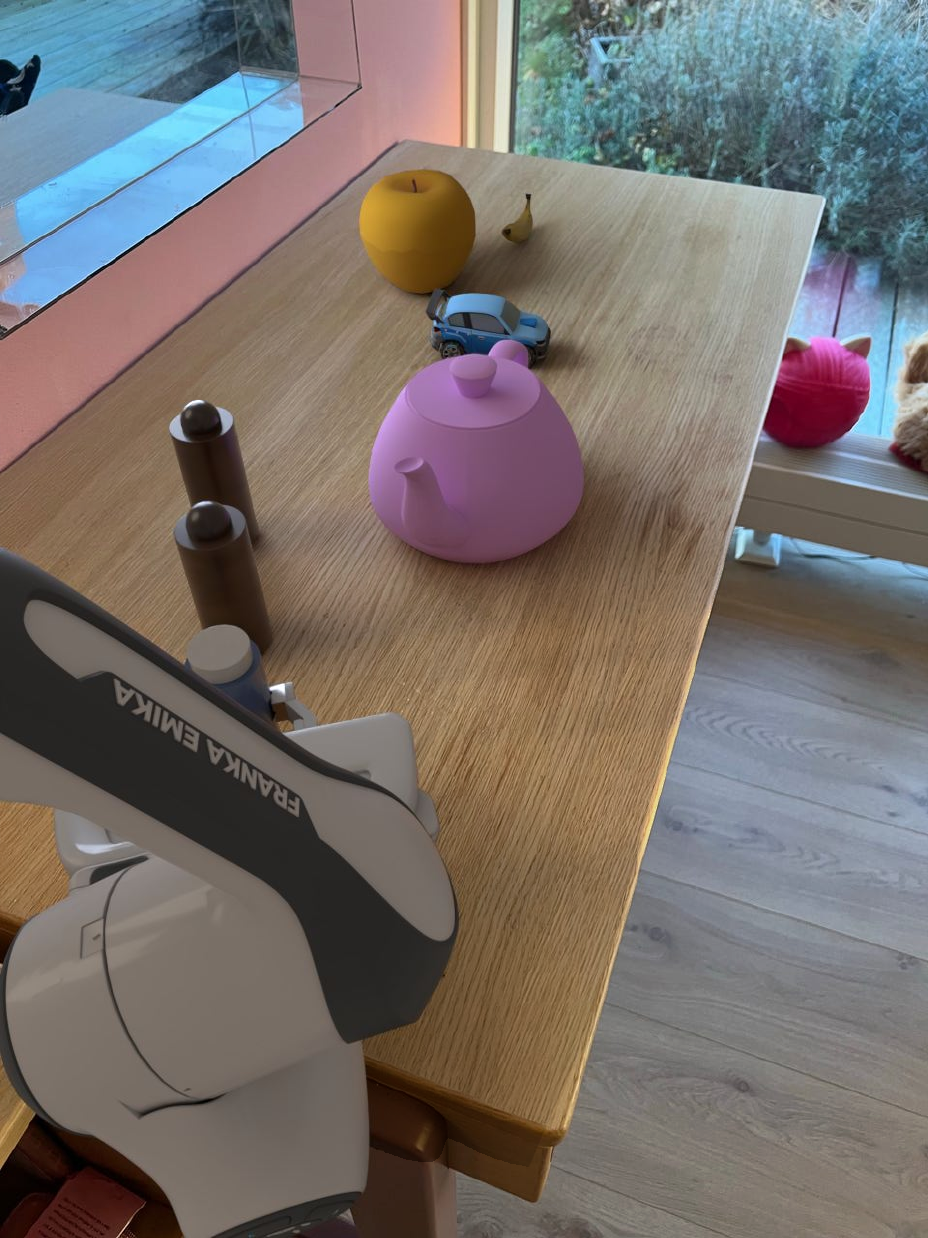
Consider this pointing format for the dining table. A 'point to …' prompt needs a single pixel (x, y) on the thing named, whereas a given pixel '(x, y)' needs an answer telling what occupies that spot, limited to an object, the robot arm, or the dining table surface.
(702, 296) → the dining table surface
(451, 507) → the teapot
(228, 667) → the blue shaker
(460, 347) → the toy car
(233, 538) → the near mill
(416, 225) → the apple
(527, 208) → the banana
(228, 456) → the far mill
